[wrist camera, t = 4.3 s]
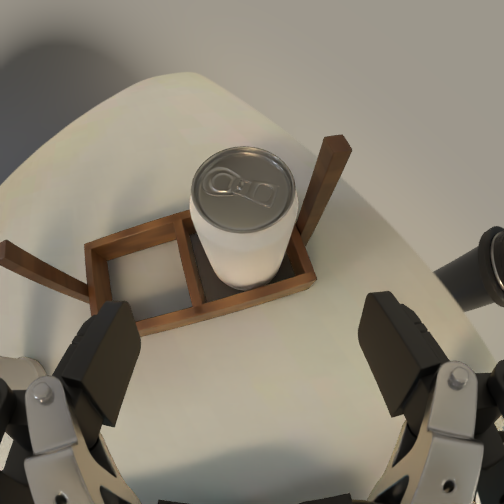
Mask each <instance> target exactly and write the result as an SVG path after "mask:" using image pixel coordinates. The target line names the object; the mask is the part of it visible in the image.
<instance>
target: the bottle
mask: <svg viewBox="0 0 504 504" xmlns="http://www.w3.org/2000/svg"><path fill="white" fill-rule="evenodd" d="M42 376H47V375H46V372H45V370H44V369H43V367H42V365H41V364H40V363H39V362H37V361H36V360H34V359H31V358H28V357H19V358H9V357H2V356H0V378H2V379H3V380H4V381H5V382H6V383H7V385H8V386H9V387H10V388H11V390H27V388H28V387H29V385H30V384H31V383H32V382H33V381H34V380H36V379H37V378H39V377H42Z"/></svg>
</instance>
